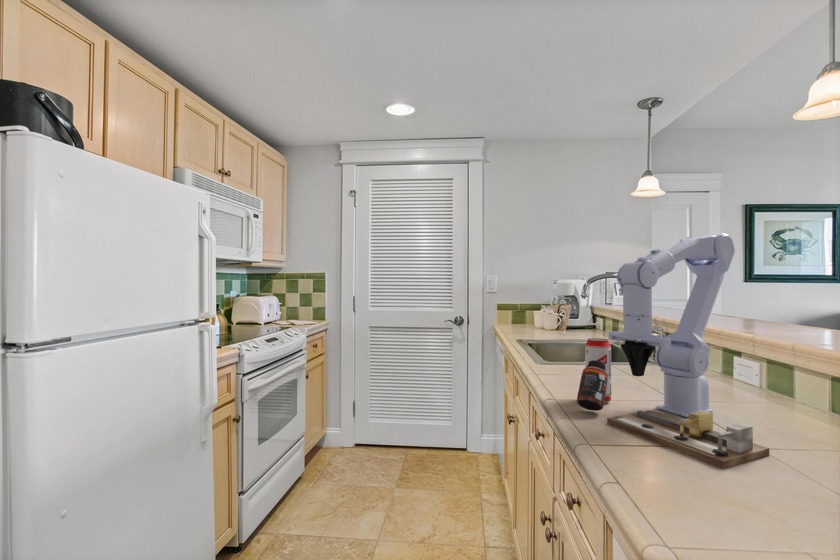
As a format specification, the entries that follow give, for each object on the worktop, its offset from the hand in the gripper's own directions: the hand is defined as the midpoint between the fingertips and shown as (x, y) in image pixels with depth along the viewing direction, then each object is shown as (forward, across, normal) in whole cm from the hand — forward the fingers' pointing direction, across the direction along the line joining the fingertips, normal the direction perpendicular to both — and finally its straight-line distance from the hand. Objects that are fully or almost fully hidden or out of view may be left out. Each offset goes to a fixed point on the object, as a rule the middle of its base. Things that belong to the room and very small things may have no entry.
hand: (638, 375), depth 93 cm
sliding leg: (+8, +14, -2) cm, 17 cm away
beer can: (+10, -14, +2) cm, 17 cm away
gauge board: (+10, +11, -2) cm, 15 cm away
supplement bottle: (+8, -8, -7) cm, 13 cm away
